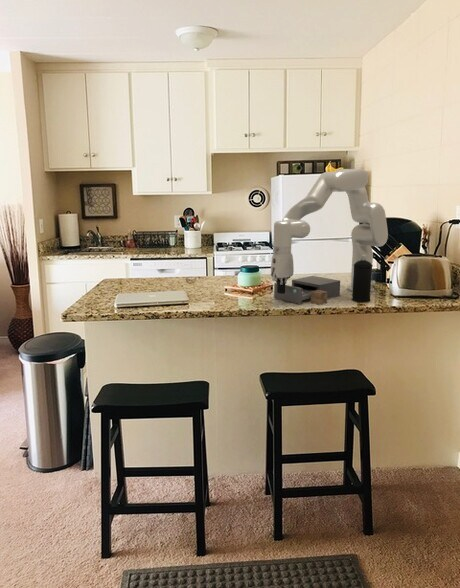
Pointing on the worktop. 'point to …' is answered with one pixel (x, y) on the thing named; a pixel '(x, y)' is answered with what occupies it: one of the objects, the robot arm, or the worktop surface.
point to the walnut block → (318, 297)
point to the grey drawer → (292, 294)
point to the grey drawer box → (319, 285)
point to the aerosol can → (362, 280)
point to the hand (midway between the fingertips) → (281, 293)
